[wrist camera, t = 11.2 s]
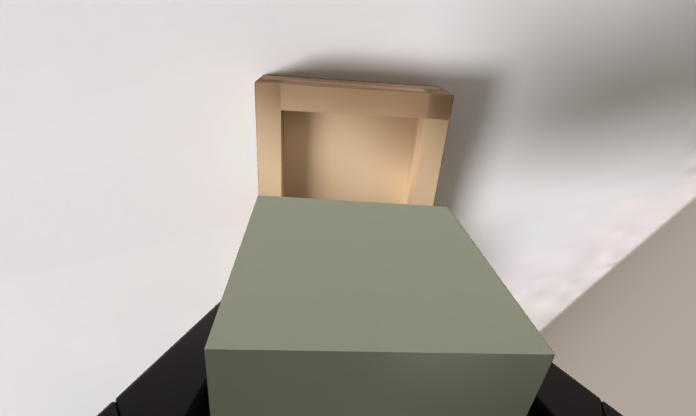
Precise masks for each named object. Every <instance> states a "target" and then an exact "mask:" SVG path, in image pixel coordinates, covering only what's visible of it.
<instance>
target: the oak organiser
mask: <svg viewBox="0 0 696 416" xmlns="http://www.w3.org/2000/svg"><path fill="white" fill-rule="evenodd" d="M453 98H454V95H452V94H450V93H448V92H446V91H444V90H442V89H440V88H438V87H435V86H424V85H409V84H394V83H379V82H364V81H349V80H334V79H319V78H304V77H289V76H273V75H263V76H262V77H260V78H259V79H258V80H257V81H256V82H255V110H256V139H257V167H258V195H262V196H279V197H295V198H311V199H328V200H344V201H360V202H377V203H393V204H409V205H426V206H433V203H434V198H435V193H436V188H437V182H438V177H439V172H440V166H441V161H442V156H443V151H444V145H445V140H446V135H447V129H448V124H449V119H450V113H451V108H452V103H453Z"/></svg>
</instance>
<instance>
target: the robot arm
mask: <svg viewBox="0 0 696 416" xmlns="http://www.w3.org/2000/svg"><path fill="white" fill-rule="evenodd" d="M220 303H221V301H220V302H219V303H218V304H217V305H216V306H215V307H214V308H213V309H212V310H211V311H209V312H208V313H207V314H206V315H205V316H204V317H203V318H202V319H201V320H200V321H199V322H198V323H197V324H195V325H194V326H193V327H192V328H191V329H190V330H189V331H188V332H187V333H186V334H185V335H184V336H183V337H181V338H180V339H179V340H178V341H177V342H176V343H175V344H174V345H173V346H172V347H171V348H170V349H169V350H167V351H166V352H165V353H164V354H163V355H162V356H161V357H160V358H159V359H158V360H157V361H156V362H155V363H153V364H152V365H151V366H150V367H149V368H148V369H147V370H146V371H145V372H144V373H143V374H142V375H141V376H140V377H138V378H137V379H136V380H135V381H134V382H133V383H132V384H131V385H130V386H129V387H128V388H127V389H126V390H124V391H123V392H122V393H121V394H120V395H119V396H118V397H117V398H116V400H115V401H116V402H111V403H110V404H109V405H108V406H107V407H106V408H105V409H104V410H103V411H102V412H101V413H99V414H98V415H97V416H210V407H209V396H208V385H207V374H206V363H205V352H204V348H205V346H206V343H207V340H208V337H209V334H210V331H211V329H212V326H213V323H214V320H215V317H216V314H217V311H218V309H219V306H220ZM527 416H622V415H621V414H620V413H618V412H617V411H616V410H614V409H613V408H612V407H611V406H609V405H608V404H607V403H605V402H601V400H600V398H599V397H597V396H596V395H595V394H593V393H592V392H591V391H589V390H588V389H587V388H585V387H584V386H583V385H581V384H580V383H578V382H577V381H576V380H575V379H573V378H572V377H571V376H569V375H568V374H567V373H565V372H564V371H563V370H561V369H560V368H559V367H557V366H556V365H555V364H553V363H551V365H550V367H549V369H548V371H547V373H546V375H545V378H544V380H543V382H542V384H541V386H540V388H539V390H538V392H537V395H536V397H535V399H534V401H533V403H532V405H531V407H530V409H529V411H528V414H527Z"/></svg>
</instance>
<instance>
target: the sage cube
mask: <svg viewBox="0 0 696 416" xmlns="http://www.w3.org/2000/svg"><path fill="white" fill-rule="evenodd" d="M204 352H205V363H206V374H207V385H208V396H209V407H210V416H527V414H528V411H529V409H530V407H531V405H532V403H533V401H534V399H535V397H536V395H537V392H538V390H539V388H540V386H541V384H542V382H543V380H544V378H545V375H546V373H547V371H548V369H549V367H550V365H551V363H552V361H553V358H554V356H555V353H554V352H553V351H552V349H551V348H550V347H549V345H548V344H547V343H546V341H545V340H544V338H543V337H542V336H541V334H540V333H539V331H538V330H537V329H536V327H535V326H534V325H533V323H532V322H531V320H530V319H529V318H528V316H527V315H526V314H525V312H524V311H523V309H522V308H521V307H520V305H519V304H518V303H517V301H516V300H515V298H514V297H513V296H512V294H511V293H510V292H509V290H508V289H507V287H506V286H505V285H504V283H503V282H502V281H501V279H500V278H499V276H498V275H497V274H496V272H495V271H494V270H493V268H492V267H491V265H490V264H489V263H488V261H487V260H486V259H485V257H484V256H483V254H482V253H481V252H480V250H479V249H478V248H477V246H476V245H475V243H474V242H473V241H472V239H471V238H470V237H469V235H468V234H467V232H466V231H465V230H464V228H463V227H462V226H461V224H460V223H459V221H458V220H457V219H456V217H455V216H454V215H453V213H452V212H451V210H450V209H449V208H448V207H442V206H426V205H409V204H393V203H377V202H360V201H344V200H328V199H311V198H295V197H279V196H262V195H258V197H257V200H256V203H255V206H254V209H253V212H252V214H251V217H250V220H249V223H248V226H247V229H246V232H245V234H244V237H243V240H242V243H241V246H240V249H239V252H238V254H237V257H236V260H235V263H234V266H233V269H232V271H231V274H230V277H229V280H228V283H227V286H226V289H225V291H224V294H223V297H222V300H221V303H220V306H219V309H218V311H217V314H216V317H215V320H214V323H213V326H212V329H211V331H210V334H209V337H208V340H207V343H206V346H205V348H204Z"/></svg>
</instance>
